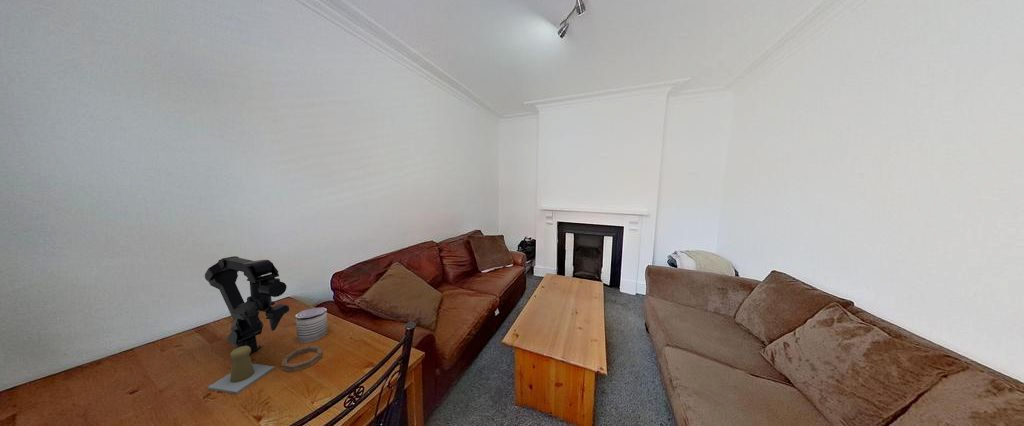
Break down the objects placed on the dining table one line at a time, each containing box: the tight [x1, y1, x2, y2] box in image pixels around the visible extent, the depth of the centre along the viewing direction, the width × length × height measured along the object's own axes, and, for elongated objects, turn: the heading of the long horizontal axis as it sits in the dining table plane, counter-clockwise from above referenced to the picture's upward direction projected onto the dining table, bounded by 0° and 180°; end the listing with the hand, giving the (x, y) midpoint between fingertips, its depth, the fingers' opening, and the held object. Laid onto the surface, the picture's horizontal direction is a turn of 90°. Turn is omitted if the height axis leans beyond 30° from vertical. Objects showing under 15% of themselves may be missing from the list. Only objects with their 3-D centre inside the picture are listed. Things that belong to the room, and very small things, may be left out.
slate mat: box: [206, 362, 275, 395], centre depth 91 cm, size 12×12×1 cm
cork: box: [229, 346, 254, 383], centre depth 90 cm, size 6×6×11 cm
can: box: [294, 306, 328, 344], centre depth 117 cm, size 11×11×12 cm
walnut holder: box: [280, 344, 323, 373], centre depth 101 cm, size 12×12×2 cm
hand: (263, 328), depth 100 cm, fingers open, 9 cm apart
